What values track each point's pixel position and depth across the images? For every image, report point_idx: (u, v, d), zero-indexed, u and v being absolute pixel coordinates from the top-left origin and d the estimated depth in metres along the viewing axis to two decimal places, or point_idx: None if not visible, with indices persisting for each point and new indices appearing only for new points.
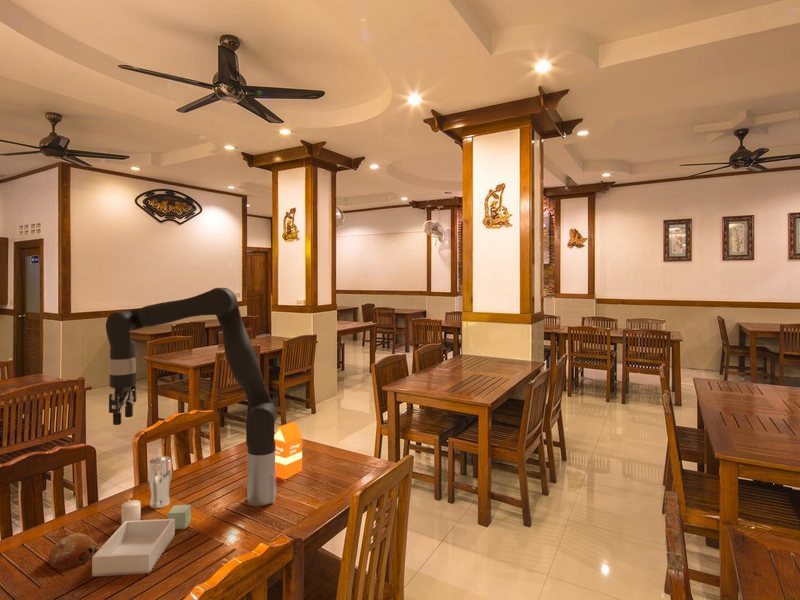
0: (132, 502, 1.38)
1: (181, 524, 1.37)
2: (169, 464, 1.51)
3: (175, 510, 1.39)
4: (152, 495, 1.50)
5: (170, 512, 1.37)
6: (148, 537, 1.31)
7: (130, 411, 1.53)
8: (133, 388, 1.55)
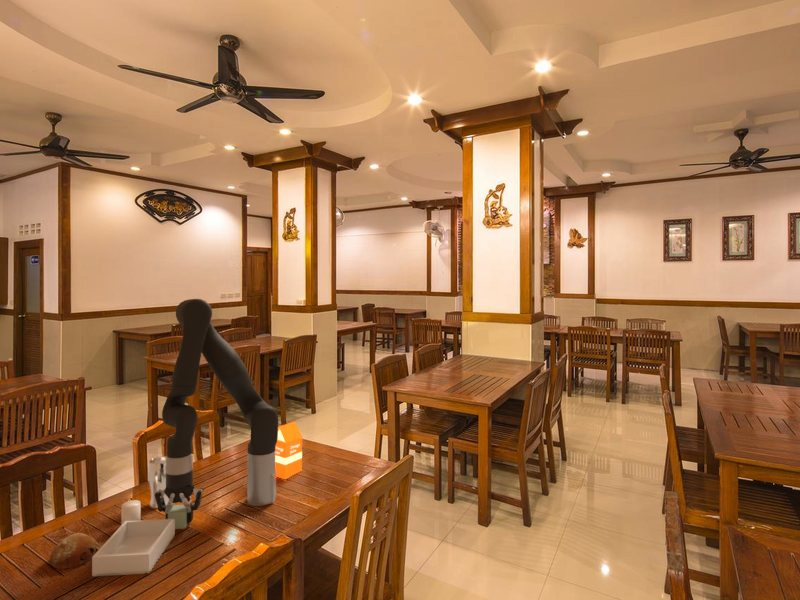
0: (132, 502, 1.38)
1: (181, 523, 1.37)
2: None
3: (175, 509, 1.39)
4: (152, 495, 1.50)
5: (170, 512, 1.37)
6: (148, 537, 1.31)
7: None
8: None
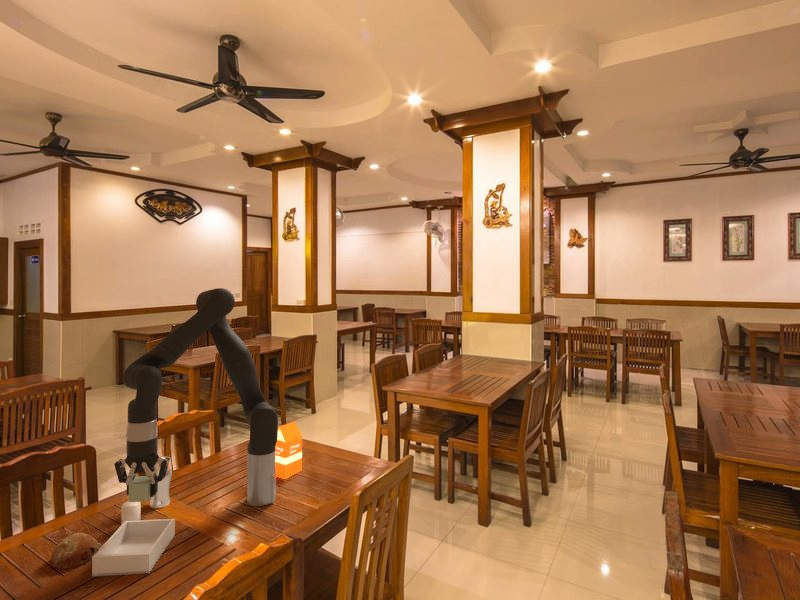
0: (132, 502, 1.38)
1: (143, 496, 1.25)
2: (169, 464, 1.51)
3: (137, 480, 1.26)
4: None
5: (131, 483, 1.25)
6: (148, 537, 1.31)
7: None
8: None
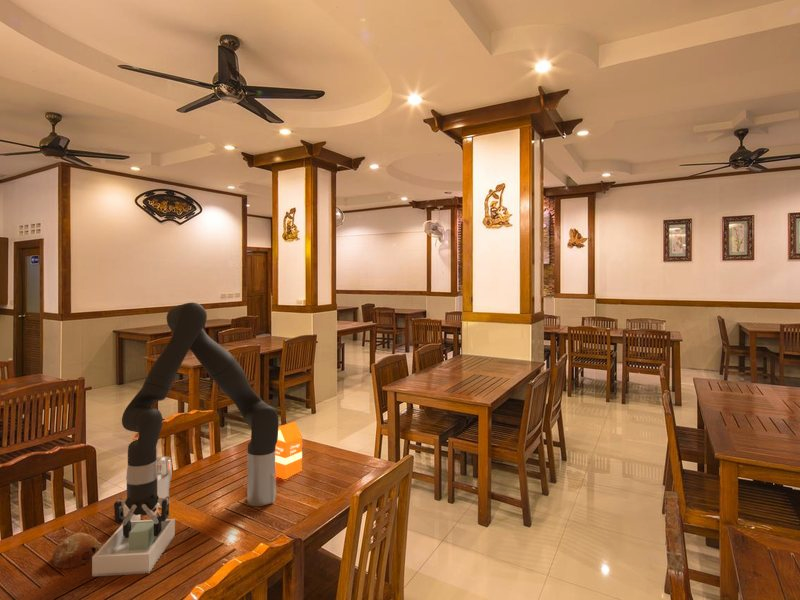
0: None
1: (143, 544, 1.25)
2: (169, 464, 1.51)
3: (137, 528, 1.26)
4: None
5: (132, 531, 1.25)
6: None
7: (130, 528, 1.27)
8: None
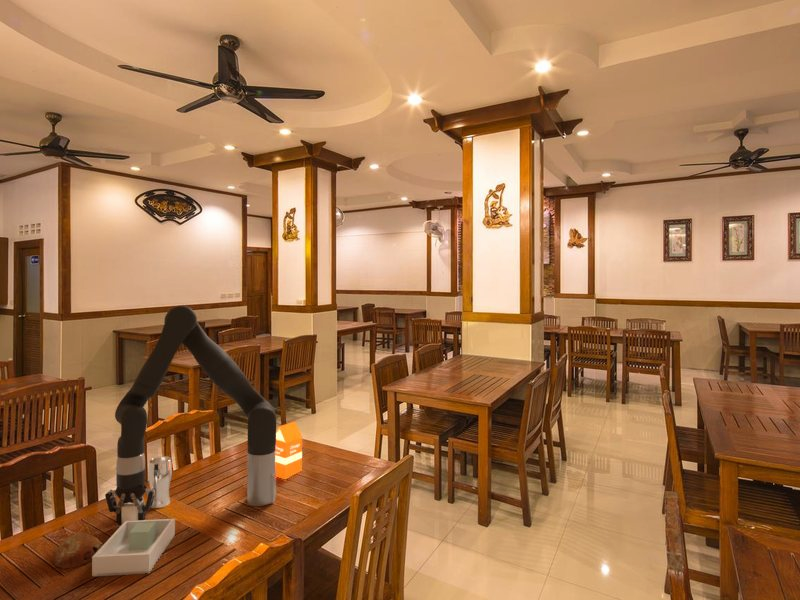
0: None
1: (143, 544, 1.25)
2: (169, 464, 1.51)
3: (137, 528, 1.26)
4: None
5: (132, 531, 1.25)
6: None
7: None
8: None
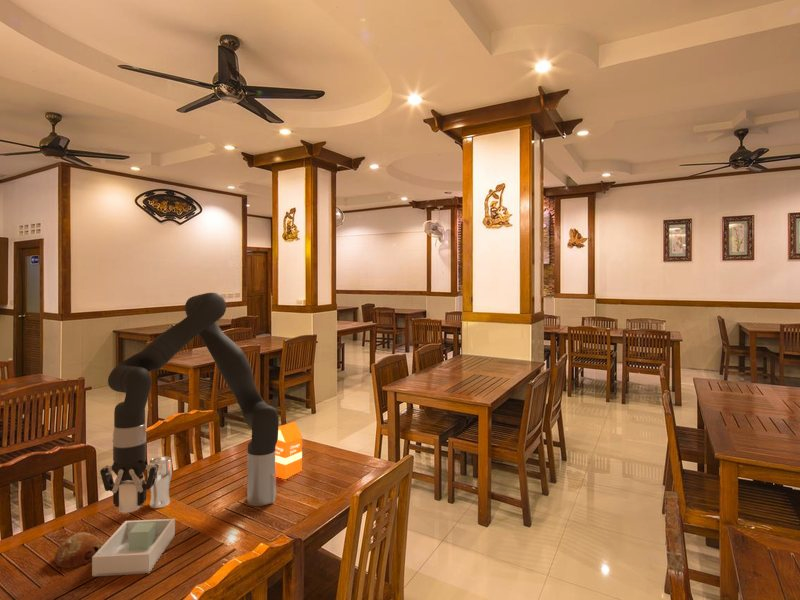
0: None
1: (143, 544, 1.25)
2: (169, 464, 1.51)
3: (137, 528, 1.26)
4: (152, 495, 1.50)
5: (132, 531, 1.25)
6: None
7: None
8: None
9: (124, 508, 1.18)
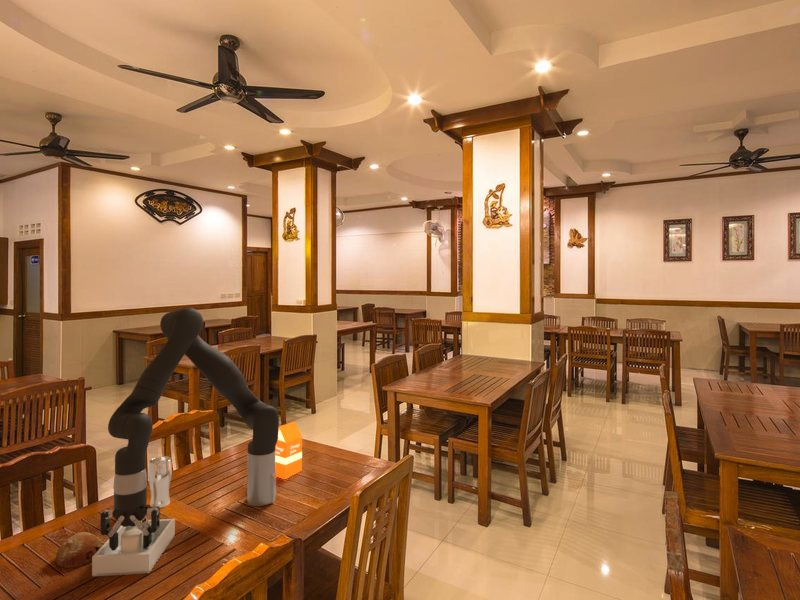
0: (133, 531, 1.21)
1: None
2: (169, 464, 1.51)
3: (137, 528, 1.26)
4: (152, 495, 1.50)
5: None
6: None
7: (117, 540, 1.20)
8: None
9: None
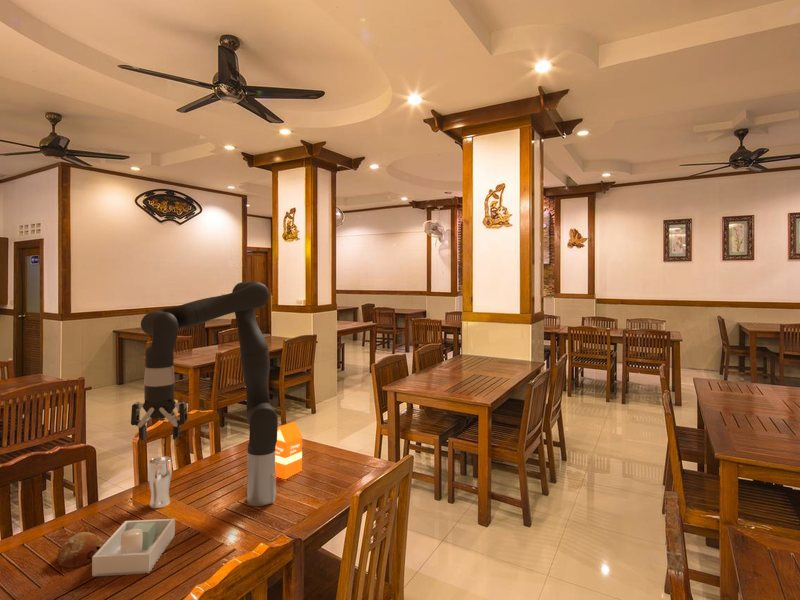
0: (133, 531, 1.21)
1: (143, 544, 1.25)
2: (169, 464, 1.51)
3: (137, 528, 1.26)
4: (152, 495, 1.50)
5: None
6: None
7: (145, 431, 1.28)
8: None
9: None
